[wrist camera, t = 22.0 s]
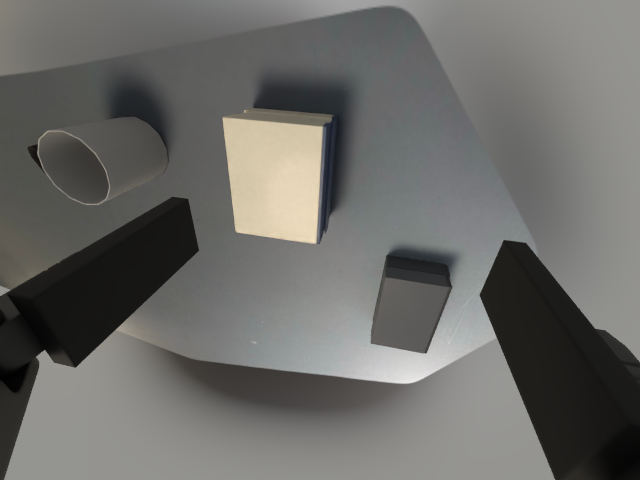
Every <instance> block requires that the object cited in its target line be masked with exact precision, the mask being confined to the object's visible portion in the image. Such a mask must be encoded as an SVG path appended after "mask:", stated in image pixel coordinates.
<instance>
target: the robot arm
mask: <svg viewBox="0 0 640 480" xmlns="http://www.w3.org/2000/svg"><path fill="white" fill-rule="evenodd" d="M198 251H199V248H198V244H197V239H196V234H195V229H194V225H193V220H192V215H191V210H190V206H189V201H188V199H185V198H177V197H172V198H170V199H168V200H167V201H165V202H163V203H161V204H160V205H158V206H156V207H155V208H153V209H151V210H149V211H148V212H146V213H144V214H143V215H141V216H139V217H137V218H136V219H134V220H132V221H131V222H129V223H127V224H125V225H124V226H122V227H120V228H119V229H117V230H115V231H113V232H112V233H110V234H108V235H107V236H105V237H103V238H101V239H100V240H98V241H96V242H95V243H93V244H91V245H89V246H88V247H86V248H84V249H83V250H81V251H79V252H76V253H74V254H72V255H71V256H69V257H67V258H66V259H64V260H62V261H60V263H57V264H55V265H53V266H52V267H50V268H48V270H47V271H43V272H41V273H40V274H38V275H36V276H35V277H33V278H31V279H29V280H28V281H26V282H24V283H22V284H21V285H19V286H17V287H16V288H14V289H12V290H10V291H9V292H7V293H5V294H3V295H2V296H0V480H4V477H5V474H6V471H7V468H8V465H9V461H10V458H11V455H12V452H13V449H14V446H15V442H16V439H17V436H18V433H19V430H20V426H21V423H22V420H23V417H24V414H25V411H26V407H27V404H28V401H29V398H30V395H31V391H32V388H33V385H34V382H35V379H36V375H37V372H38V369H39V361H38V359H37V358H36V356H37V355H39V354H40V353H41V352H42V351H44V350H46V352H47V353H48V354H49V356H50V357H51V359H52V360H53V361H54V363H58V364H63V365H67V366H71V367H77V366H78V365H79V364H80V363H81V362H82V361H83V360H84V359H85V358H86V357H87V356H88V355H89V354H90V353H91V352H92V351H93V350H95V348H97V347H98V346H99V345H100V344H101V343H102V342H103V341H104V340H105V339H106V338H107V337H108V336H109V335H110V334H111V333H112V332H114V331H115V330H116V329H117V328H118V327H119V326H120V325H121V324H122V323H123V322H124V321H125V320H126V319H127V318H128V317H129V316H130V315H131V314H133V313H134V312H135V311H136V310H137V309H138V308H139V307H140V306H141V305H142V304H143V303H144V302H145V301H146V300H147V299H148V298H149V297H150V296H152V295H153V294H154V293H155V292H156V291H157V290H158V289H159V288H160V287H161V286H162V285H163V284H164V283H165V282H166V281H167V280H168V279H169V278H170V277H172V276H173V275H174V274H175V273H176V272H177V271H178V270H179V269H180V268H181V267H182V266H183V265H184V264H185V263H186V262H187V261H188V260H189V259H191V258H192V257H193V256H194V255H195V254H196V253H197V252H198ZM480 297H481V300H482V302H483V305H484V307H485V310H486V312H487V314H488V317H489V319H490V322H491V324H492V327H493V329H494V331H495V334H496V336H497V339H498V341H499V343H500V346H501V349H502V351H503V353H504V356H505V358H506V361H507V363H508V366H509V368H510V370H511V373H512V375H513V378H514V380H515V382H516V385H517V388H518V390H519V392H520V395H521V397H522V400H523V402H524V405H525V407H526V409H527V412H528V414H529V417H530V419H531V422H532V424H533V426H534V429H535V431H536V434H537V436H538V439H539V441H540V444H541V446H542V448H543V451H544V453H545V456H546V458H547V460H548V463H549V466H550V468H551V470H552V473H553V475H554V478H555V480H640V362H639V361H638V360H637V359H636V357H635V356H634V355H633V354H632V353H631V352H630V350H628V348H627V347H626V346H625V345H623V344H622V343H621V342H619V341H618V340H617V339H616V338H614V337H613V336H612V335H610V334H609V333H608V332H606V331H605V330H599V329H595V328H594V327H593V326H592V324H591V323H590V322H589V321H588V319H587V318H586V317H585V316H584V314H583V313H582V312H581V311H580V309H579V308H578V307H577V306H576V304H575V303H574V302H573V301H572V300H571V298H570V297H569V296H568V295H567V293H566V292H565V291H564V290H563V288H562V287H561V286H560V285H559V283H558V282H557V281H556V280H555V278H554V277H553V276H552V275H551V273H550V272H549V271H548V270H547V269H546V267H545V266H544V265H543V264H542V263H541V261H540V260H539V259H538V257H537V256H536V255H535V254H534V252H533V251H532V250H531V249H530V247H529V246H528V245H527V244H526V243H522V242H515V241H507V240H504V241H503V243H502V246H501V248H500V250H499V252H498V255H497V257H496V259H495V261H494V264H493V266H492V268H491V271H490V273H489V275H488V277H487V280H486V282H485V284H484V286H483V289H482V291H481V293H480Z"/></svg>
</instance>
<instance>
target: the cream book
mask: <svg viewBox="0 0 640 480" xmlns="http://www.w3.org/2000/svg"><path fill="white" fill-rule="evenodd" d="M330 124H331V123H327V122H318V121H307V120H296V119H285V118H274V117H263V116H252V115H240V114H232V115H229V116H225V117H223V125H224V134H225V143H226V151H227V160H228V168H229V177H230V186H231V194H232V203H233V211H234V220H235V229H236V232H238V233H245V234H252V235H258V236H265V237H272V238H279V239H285V240H292V241H299V242H305V243H312V244H320V241H321V238H322V236H323V225H324V211H325V197H326V182H327V168H328V153H329V139H330Z"/></svg>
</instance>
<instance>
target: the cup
mask: <svg viewBox="0 0 640 480" xmlns="http://www.w3.org/2000/svg"><path fill="white" fill-rule="evenodd" d="M37 154H38V157H39V159H40V162H41V165H42V168H43V170H44V171H45V173H46V174H47V176H48V177H49V178H50V180H51V181H52V182H53V184H54V185H55V186H56V187H57V188H58V189H60V190H61V191H62V192H63V193H64V194H65V195H67V196H68V197H69V198H71V199H73V200H75V201H78V202H80V203H82V204H84V205H99V204H101V203H103V202H105V201H108V200H110V199H112V198H114V197H116V196H118V195H120V194H122V193H124V192H126V191H129V190H131V189H133V188H135V187H137V186H139V185H141V184H143V183H145V182H148V181H150V180H152V179H154V178H156V177H157V176H159V175H161V174H162V173H164V171H165V169H166V166H167V164H168V157H167V149H166V147H165V145H164V143H163V141H162V139H161V137H160V135H159V134H158V133H157V132H156V131H155V130H154V129H153V128H152V127H151V126H150V125H149V124H148V123H147V122H145V121H142V120H140V119H138V118H136V117H120V118H114V119H109V120H103V121H98V122H92V123H87V124H81V125H76V126H71V127H65V128H60V129H54V130H49V131H47V132H45V133H44V134H43V135H42V136H41V137H40V138H39V139H38V151H37Z"/></svg>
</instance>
